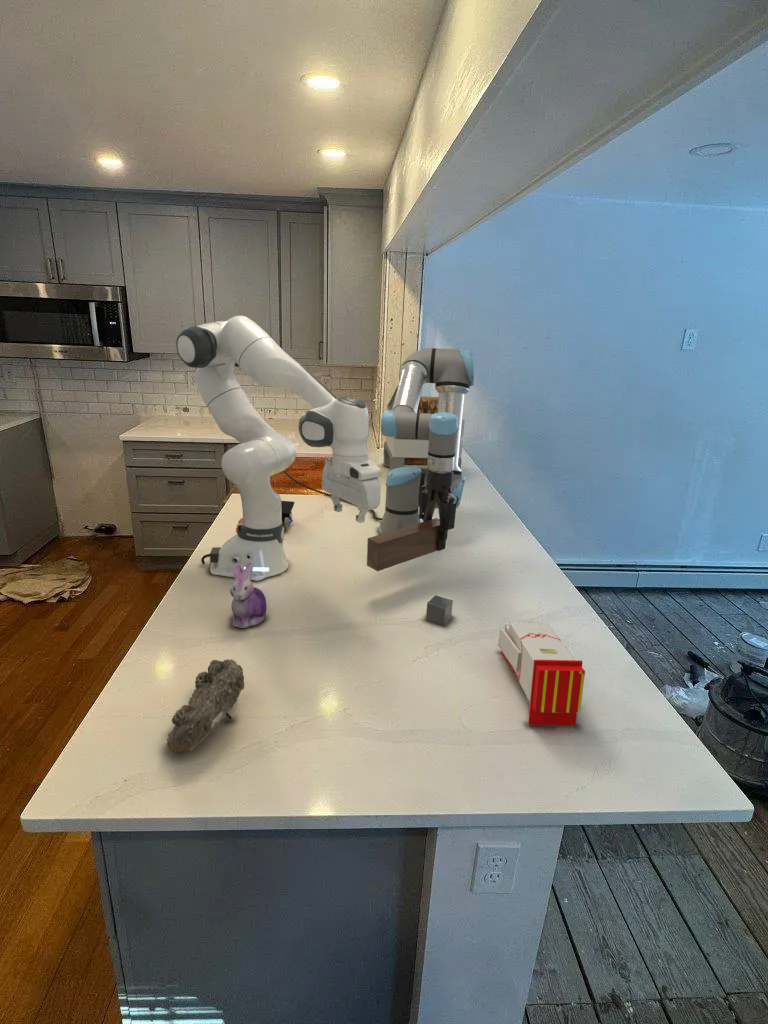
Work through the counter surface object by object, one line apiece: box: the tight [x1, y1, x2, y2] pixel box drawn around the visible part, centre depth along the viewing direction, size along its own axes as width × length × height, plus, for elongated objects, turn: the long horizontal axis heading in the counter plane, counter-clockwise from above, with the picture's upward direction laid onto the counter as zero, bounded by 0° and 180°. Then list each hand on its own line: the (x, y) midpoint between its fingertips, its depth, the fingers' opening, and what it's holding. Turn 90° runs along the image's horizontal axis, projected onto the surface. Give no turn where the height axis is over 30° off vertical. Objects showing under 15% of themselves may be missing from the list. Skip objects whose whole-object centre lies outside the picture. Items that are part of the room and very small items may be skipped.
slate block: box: [425, 594, 454, 626], centre depth 145 cm, size 5×5×5 cm
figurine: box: [229, 563, 268, 629], centre depth 139 cm, size 9×10×15 cm
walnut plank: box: [366, 517, 447, 572], centre depth 158 cm, size 4×26×8 cm, turn 131°
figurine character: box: [281, 500, 295, 533], centre depth 201 cm, size 7×8×15 cm
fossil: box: [166, 658, 245, 754], centre depth 106 cm, size 22×10×15 cm
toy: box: [497, 621, 586, 727], centre depth 121 cm, size 12×13×30 cm
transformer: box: [383, 385, 465, 472], centre depth 268 cm, size 34×33×41 cm
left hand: (348, 516), depth 145 cm, fingers open, 8 cm apart
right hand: (434, 546), depth 165 cm, fingers closed on walnut plank, 4 cm apart
